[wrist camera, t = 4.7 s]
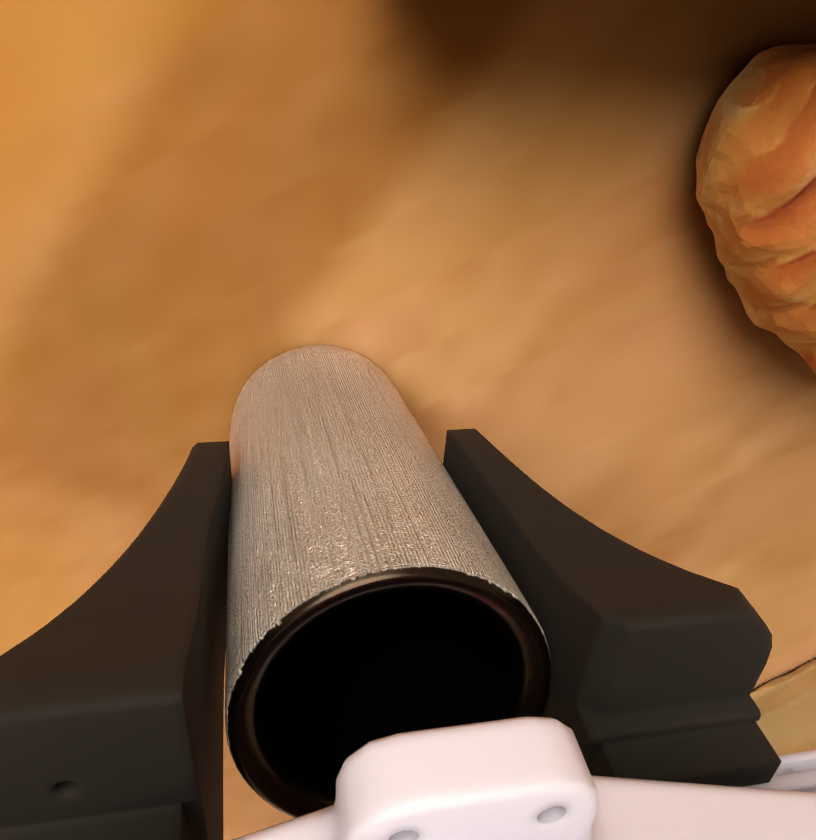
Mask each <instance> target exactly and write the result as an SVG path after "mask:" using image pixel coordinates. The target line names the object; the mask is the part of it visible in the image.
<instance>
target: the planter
mask: <svg viewBox="0 0 816 840" xmlns="http://www.w3.org/2000/svg"><path fill="white" fill-rule="evenodd" d="M230 462H231V474H232V487H231V507H230V517H229V530H228V573H227V629H226V687H225V723H226V735H227V741H228V746H229V749H230V752H231V755H232V758H233V760H234V762H235V764H236V767H237V768H238V770H239V772H240V773H241V775H242V777H243V778H244V779H245V781H246V782H247V783H248V785H249V786H250V787H251V788H252V789H253V790H254V791H255V792H256V793H257V794H258V795H259V796H260V797H261V798H262V799H263V800H265V801H266V802H267V803H269V804H270V805H271V806H273V807H274V808H276V809H278V810H279V811H281V812H283V813H285V814H287V815H289V816H291V817H293V818H297V817H300V816H303V815H306V814H309V813H312V812H315V811H318V810H321V809H323V808H326V807H329V806H332V805H334V803H335V799H336V779H337V776H338V774H339V772H340V770H341V768H342V766H343V763H344V761H345V760H346V759H347V758H348V757H349V756H350V755H352V754H353V753H354V752H356V751H357V750H359V749H360V748H362V747H363V746H364V745H366V744H367V743H369V742H370V741H374V740H377V739H380V738H384V737H387V736H391V735H394V734H398V733H405V732H413V731H420V730H428V729H435V728H443V727H450V726H458V725H466V724H473V723H481V722H488V721H496V720H504V719H511V718H519V717H542V716H543V713H544V711H545V708H546V704H547V701H548V697H549V692H550V685H551V657H550V652H549V647H548V643H547V640H546V637H545V634H544V632H543V629H542V628H541V626H540V624H539V622H538V620H537V618H536V616H535V615H534V613H533V611H532V609H531V608H530V606H529V605H528V603H527V601H526V600H525V598H524V596H523V595H522V593H521V591H520V590H519V588H518V586H517V585H516V583H515V582H514V580H513V578H512V577H511V575H510V573H509V572H508V570H507V568H506V567H505V565H504V564H503V562H502V560H501V559H500V557H499V555H498V554H497V552H496V551H495V549H494V547H493V546H492V544H491V542H490V541H489V539H488V538H487V536H486V534H485V533H484V531H483V529H482V528H481V526H480V524H479V523H478V521H477V520H476V518H475V516H474V515H473V513H472V511H471V510H470V508H469V507H468V505H467V503H466V502H465V500H464V498H463V497H462V495H461V493H460V492H459V490H458V489H457V487H456V485H455V484H454V482H453V480H452V479H451V477H450V476H449V474H448V472H447V471H446V469H445V467H444V466H443V464H442V462H441V461H440V459H439V458H438V456H437V454H436V453H435V451H434V449H433V448H432V446H431V445H430V443H429V441H428V440H427V438H426V436H425V435H424V433H423V431H422V430H421V428H420V427H419V425H418V423H417V422H416V420H415V418H414V417H413V415H412V414H411V412H410V410H409V409H408V407H407V405H406V404H405V402H404V400H403V399H402V397H401V396H400V394H399V392H398V391H397V389H396V388H395V386H394V385H393V383H392V382H391V381H390V380H389V378H388V377H387V376H386V375H385V374H384V372H383V371H382V370H381V369H380V368H379V367H378V366H377V365H375V364H374V363H373V362H371V361H370V360H369V359H367V358H366V357H364V356H362V355H360V354H358V353H356V352H354V351H351V350H348V349H345V348H341V347H336V346H329V345H311V346H304V347H299V348H295V349H292V350H289V351H286V352H284V353H282V354H279V355H277V356H276V357H274V358H272V359H271V360H269V361H268V362H266V363H265V364H263V365H262V366H261V367H260V368H259V369H258V370H256V371H255V372H254V373H253V375H252V376H251V377H250V378H249V379H248V381H247V382H246V383H245V385H244V386H243V388H242V390H241V391H240V393H239V396H238V398H237V400H236V403H235V406H234V410H233V415H232V421H231V427H230Z"/></svg>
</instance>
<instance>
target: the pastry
mask: <svg viewBox="0 0 816 840" xmlns="http://www.w3.org/2000/svg"><path fill="white" fill-rule="evenodd" d="M696 171H697V184H696V199H697V201H698V203H699V205H700V207H701V208H702V210H703V212H704V213H705V216H706V222H707V224H708V226H709V228H710V229H711V230H712V232H713V234H714V238H715V247H716V252H717V257H718V260H719V261H720V263H721V264H722V265H723V266H724V268H725V272H726V278H727V280H728V281H729V282H730V283H731V284H732V285H733V286H734V287H735V288H736V290H737V292H738V294H739V296H740V299H741V301H742V303H743V305H744V309H745V311H746V314H747V315H748V317H749V318H750V320H751V321H752V322H753V324H754V325H756V326H757V327H759V328H763V329H766V330H768V331H771V332H773V333H775V334H776V335H777V336H778V337H779V338H780V339H781V340H782V341H783V342H784V343H785V344H786V345H787V346H789V347H790V348H792V349H793V350H795V351H796V352H797V353H799V354H800V355H801V356H802V357H803V358H804V359H805V361H806V362H807V363H808V364H809V365H810V366H811V368H812V369H813V371H814V373H815V374H816V44H807V45H781V46H776V47H772V48H770V49H767V50H765V51H762V52H760V53H758V54H757V55H756V56H755V57H754V58H753V59H752V60H751V61H750V62H749V63H748V65H747V66H746V67H745V68H744V69H743V70H742V71H741V73H740V74H739V75H738V76H737V77H736V78H735V79H734V80H733V81H732V82H731V83H730V85H729V86H728V87H727V88H726V90H725V91H724V92H723V94H722V95H721V97H720V98H719V100H718V101H717V103H716V105H715V107H714V109H713V111H712V114H711V116H710V118H709V121H708V123H707V126H706V128H705V131H704V134H703V136H702V139H701V142H700V146H699V149H698V152H697V156H696Z"/></svg>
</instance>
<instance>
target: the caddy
mask: <svg viewBox="0 0 816 840" xmlns="http://www.w3.org/2000/svg"><path fill="white" fill-rule="evenodd" d="M750 696H751V697H752V699H753V700H754V702H755V703H756V705H757V706H758V708H759V709H760V713H761V717H760V719H759V721H756V723H757V724H758V726H759V727H760V729H761V730H762V732H763V733H764V735H765V737H766V738H767V740H768V741H769V743H770V744H771V746H772V747H773V749H774V750H775V752H776V753H777V755H778V756H779V755H786V754H792V753H799V752H805V751H812V750H816V659H814V660H812V661H810V662H808V663H806V664H804V665H803V666H801V667H800V668H798V669H796V670H795V671H793V672H791V673H789V674H786V675H784V676H781V677H779V678H776V679H773V680H771V681H769V682H767V683H766V684H764V685H762V686H761V687H759V688H758V689H756V690H754V691H753V692H751V694H750Z"/></svg>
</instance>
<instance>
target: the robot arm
mask: <svg viewBox="0 0 816 840" xmlns="http://www.w3.org/2000/svg"><path fill="white" fill-rule="evenodd" d="M443 466H444V467H445V469H446V471H447V472H448V474H449V476H450V477H451V479H452V480H453V482H454V484H455V485H456V487H457V489H458V490H459V492H460V493H461V495H462V497H463V498H464V500H465V502H466V503H467V505H468V507H469V508H470V510H471V511H472V513H473V515H474V516H475V518H476V520H477V521H478V523H479V524H480V526H481V528H482V529H483V531H484V533H485V534H486V536H487V538H488V539H489V541H490V542H491V544H492V546H493V547H494V549H495V551H496V552H497V554H498V555H499V557H500V559H501V560H502V562H503V564H504V565H505V567H506V568H507V570H508V572H509V573H510V575H511V577H512V578H513V580H514V582H515V583H516V585H517V586H518V588H519V590H520V591H521V593H522V595H523V596H524V598H525V600H526V601H527V603H528V605H529V606H530V608H531V609H532V611H533V613H534V615H535V616H536V618H537V620H538V622H539V624H540V626H541V628H542V629H543V632H544V634H545V637H546V640H547V643H548V647H549V652H550V657H551V685H550V692H549V697H548V701H547V704H546V708H545V711H544V713H543V716H542V717H519V718H511V719H504V720H496V721H488V722H481V723H473V724H466V725H458V726H450V727H443V728H435V729H428V730H420V731H413V732H405V733H398V734H394V735H391V736H387V737H384V738H380V739H377V740H374V741H370V742H369V743H367V744H366V745H364V746H363V747H362V748H360V749H359V750H357V751H356V752H354V753H353V754H352V755H350V756H349V757H348V758H347V759H346V760H345V761H344V763H343V766H342V768H341V770H340V772H339V774H338V776H337V779H336V799H335V803H334V805H332V806H329V807H326V808H323V809H321V810H318V811H315V812H312V813H309V814H306V815H303V816H300V817H297V818H294V819H292V820H289V821H286V822H283V823H280V824H277V825H274V826H271V827H268V828H266V829H263V830H260V831H257V832H254V833H251V834H248V835H245V836H242V837H240V838H237V839H233V840H816V750H812V751H805V752H799V753H792V754H786V755H779V756H778V755H777V753H776V752H775V750H774V749H773V747H772V746H771V744H770V743H769V741H768V740H767V738H766V737H765V735H764V733H763V732H762V730H761V729H760V727H759V726H758V724H757V723H756V721H759V719H760V717H761V713H760V709H759V708H758V706H757V705H756V703H755V702H754V700H753V699H752V697H751V696H750V694H751V692H752V690H753V688H754V686H755V684H756V682H757V680H758V678H759V676H760V674H761V672H762V671H763V669H764V667H765V665H766V663H767V660H768V657H769V654H770V651H771V648H772V634H771V633H770V631H769V629H768V627H767V626H766V624H765V623H764V621H763V620H762V619H761V617H760V616H759V615H758V613H757V612H756V611H755V609H754V608H753V607H752V606H751V604H750V603H749V602H748V600H747V599H746V598H745V597H744V595H743V594H742V593H741V592H740V591H739V589H738V588H735V587H732V586H729V585H727V584H724V583H721V582H718V581H715V580H712V579H709V578H706V577H703V576H700V575H697V574H694V573H692V572H689V571H686V570H684V569H682V568H679V567H677V566H674V565H672V564H670V563H667V562H665V561H662V560H660V559H658V558H656V557H654V556H651V555H649V554H647V553H645V552H643V551H641V550H639V549H637V548H635V547H633V546H631V545H629V544H627V543H625V542H623V541H621V540H620V539H618V538H616V537H614V536H612V535H610V534H609V533H607V532H605V531H603V530H602V529H600V528H598V527H597V526H595V525H594V524H592V523H591V522H589V521H587V520H586V519H584V518H583V517H581V516H579V515H578V514H576V513H575V512H574V511H572V510H571V509H569V508H568V507H566V506H565V505H564V504H562V503H561V502H560V501H558V500H557V499H556V498H554V497H553V496H552V495H550V494H549V493H548V492H546V491H545V490H544V489H543V488H541V487H540V486H539V485H538V484H536V483H535V482H534V481H533V480H532V479H530V478H529V477H528V476H527V475H526V474H524V473H523V472H522V471H521V470H520V469H519V468H518V467H516V466H515V465H514V464H513V463H512V462H511V461H510V460H509V459H507V458H506V457H505V456H504V455H503V454H502V453H501V452H500V451H499V450H498V449H496V448H495V447H494V446H493V445H492V444H491V443H490V442H489V441H488V440H487V439H486V438H485V437H483V436H482V435H481V434H480V433H479V432H478V431H477V430H476V429H461V430H447V436H446V445H445V453H444V462H443ZM231 487H232V474H231V462H230V451H229V441H226V442H206V443H197V444H196V445H195V446H194V447H193V448H192V450H191V452H190V455H189V457H188V459H187V461H186V463H185V465H184V467H183V469H182V471H181V472H180V474H179V476H178V478H177V479H176V481H175V483H174V485H173V486H172V488H171V489H170V491H169V493H168V494H167V496H166V497H165V499H164V500H163V502H162V504H161V505H160V507H159V508H158V510H157V511H156V512H155V514H154V515H153V517H152V518H151V519H150V521H149V522H148V523H147V525H146V526H145V527H144V529H143V530H142V531H141V533H140V534H139V535H138V537H137V538H136V539H135V540H134V542H133V543H132V544H131V545H130V546H129V548H128V549H127V550H126V551H125V552H124V553H123V555H122V556H121V557H120V558H119V559H118V560H117V561H116V562H115V563H114V564H113V566H112V567H111V568H110V569H109V570H108V571H107V572H106V573H105V574H104V575H103V576H102V577H101V578H100V579H99V580H98V581H97V582H96V583H95V584H94V585H93V586H92V587H91V588H90V589H89V590H87V591H86V592H85V593H84V594H83V595H82V596H81V597H80V598H79V599H78V600H76V601H75V602H74V603H73V604H72V605H71V606H69V607H68V608H67V609H66V610H64V611H63V612H62V613H61V614H59V615H58V616H57V617H56V618H54V619H53V620H52V621H51V622H49V623H48V624H47V625H45V626H44V627H43V628H41V629H40V630H38V631H37V632H36V633H34V634H33V635H31V636H30V637H29V638H27V639H26V640H24V641H22V642H21V643H19V644H18V645H16V646H15V647H13V648H12V649H10V650H9V651H7V652H6V653H4V654H3V655H1V656H0V840H223V702H224V665H225V652H226V629H227V573H228V530H229V517H230V507H231Z"/></svg>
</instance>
